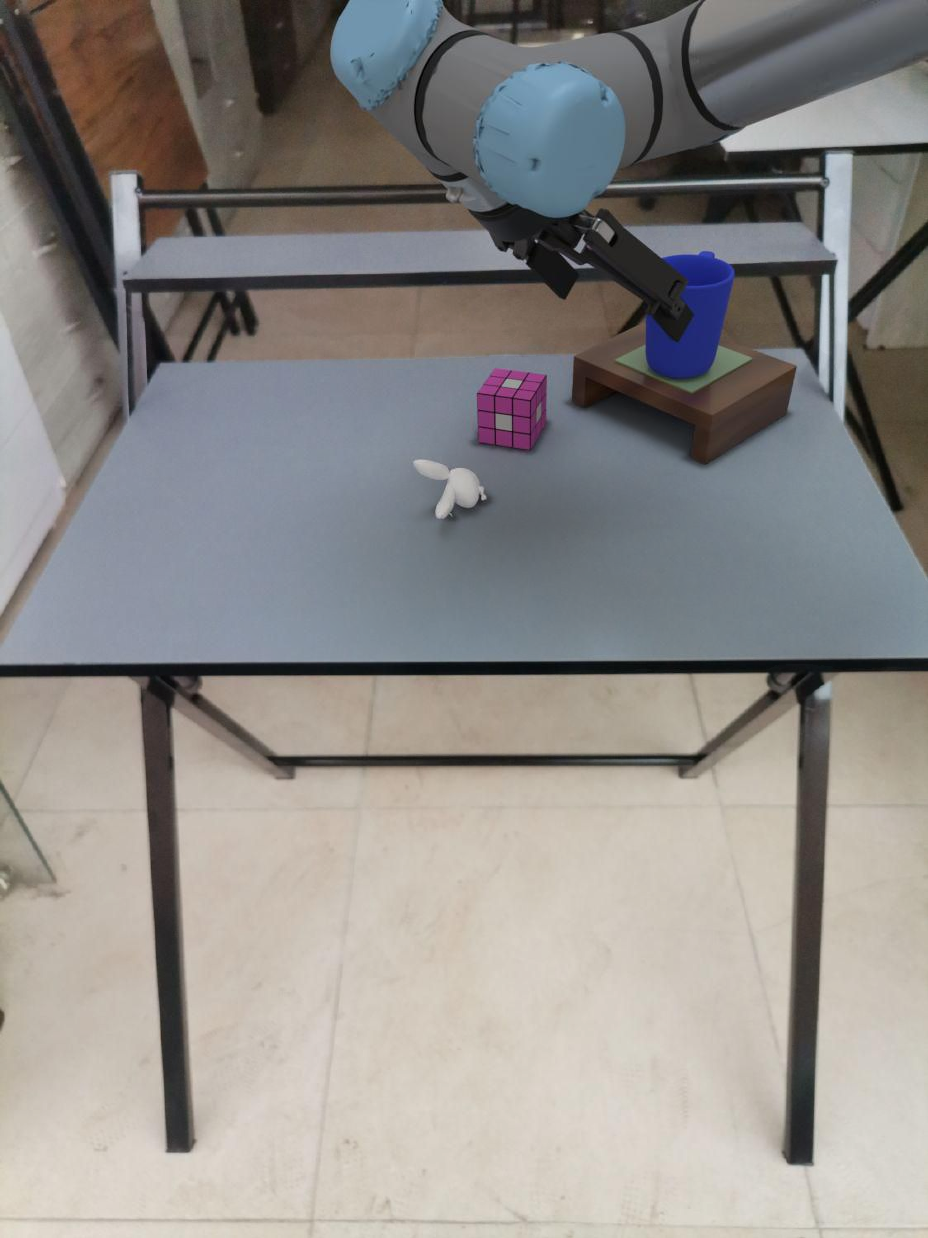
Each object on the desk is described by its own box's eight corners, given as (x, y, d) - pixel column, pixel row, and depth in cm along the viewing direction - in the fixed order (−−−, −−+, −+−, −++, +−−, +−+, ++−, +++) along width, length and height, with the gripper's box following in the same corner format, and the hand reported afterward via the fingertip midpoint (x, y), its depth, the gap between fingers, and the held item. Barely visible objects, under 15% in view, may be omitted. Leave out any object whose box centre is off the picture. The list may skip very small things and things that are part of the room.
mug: (735, 340, 98) (751, 245, 92) (709, 391, 90) (724, 291, 83) (660, 329, 101) (669, 236, 94) (628, 378, 93) (636, 280, 86)
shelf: (787, 413, 98) (797, 363, 94) (705, 464, 91) (713, 413, 87) (654, 360, 108) (658, 313, 104) (571, 402, 101) (573, 354, 97)
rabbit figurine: (505, 508, 87) (447, 509, 81) (478, 529, 89) (420, 531, 83) (480, 454, 88) (422, 451, 82) (454, 476, 91) (396, 474, 85)
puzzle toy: (478, 442, 96) (476, 392, 92) (495, 416, 100) (494, 367, 96) (530, 450, 94) (530, 400, 90) (546, 423, 98) (547, 374, 94)
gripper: (373, 182, 75) (509, 305, 92) (603, 257, 61) (713, 386, 78) (418, 96, 74) (547, 236, 91) (662, 151, 60) (761, 306, 77)
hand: (623, 305), depth 85 cm, fingers open, 13 cm apart
